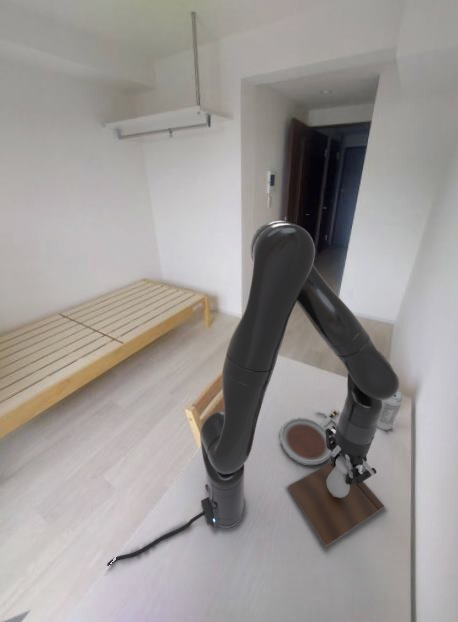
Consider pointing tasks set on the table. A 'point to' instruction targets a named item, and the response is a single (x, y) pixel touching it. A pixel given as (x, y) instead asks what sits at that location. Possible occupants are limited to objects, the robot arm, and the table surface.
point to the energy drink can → (389, 411)
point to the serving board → (333, 505)
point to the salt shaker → (338, 479)
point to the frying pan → (306, 439)
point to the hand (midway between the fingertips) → (341, 473)
